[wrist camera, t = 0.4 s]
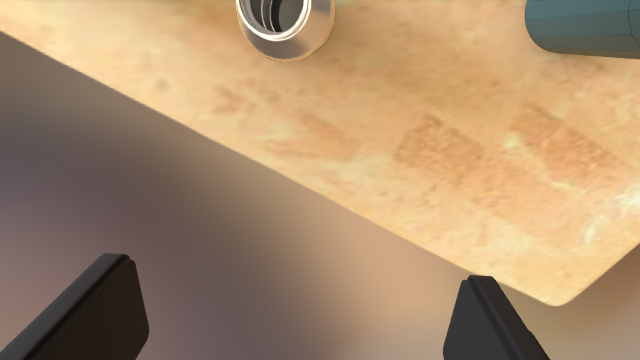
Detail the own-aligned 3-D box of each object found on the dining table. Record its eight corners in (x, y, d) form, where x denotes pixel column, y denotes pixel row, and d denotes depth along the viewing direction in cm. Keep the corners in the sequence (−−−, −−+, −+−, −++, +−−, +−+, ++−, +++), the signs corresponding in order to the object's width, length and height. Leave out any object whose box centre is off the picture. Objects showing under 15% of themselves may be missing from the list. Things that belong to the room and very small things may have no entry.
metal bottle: (341, -12, 34) (352, -68, 15) (326, 58, 36) (320, 82, 18) (278, -27, 33) (212, -105, 15) (268, 44, 36) (200, 53, 18)
